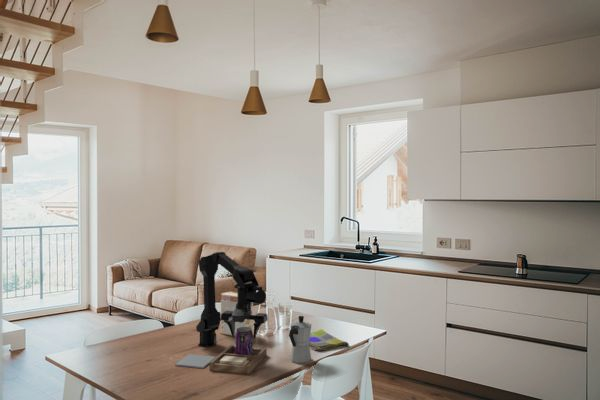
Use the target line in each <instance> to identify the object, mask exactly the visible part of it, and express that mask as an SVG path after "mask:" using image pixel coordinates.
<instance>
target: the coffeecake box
mask: <svg viewBox="0 0 600 400" xmlns="http://www.w3.org/2000/svg"><path fill="white" fill-rule="evenodd" d="M236 303H237V292H235V291H226V292H222V293H220V315H221V314H222V313H223V312H225V311H234V310H235V309H236ZM251 311H252V314H251V315H254V303H253V302H252V304H251ZM240 327H249V328H251V329H252V330H251V331H252V333H253V334H254V320H249V319H245V321H244V322H242V323H240V322H235V334H236V331H237V328H240ZM220 334H223V335H227V336H231V337H232V334H231V331H230V328H229V326H228V324H227V323H225V322H224V320H221V321H220ZM234 337H235V335H234Z"/></svg>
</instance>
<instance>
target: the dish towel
mask: <svg viewBox="0 0 600 400" xmlns="http://www.w3.org/2000/svg"><path fill="white" fill-rule="evenodd" d="M308 343H309V347H310V350H312V351H315V352H319V351H324V350H325V351H327V350H332V349H340V348H346V347H349V342H347V341H344V340H341V339H339V338H337V337H335V336H333V335H331V334H330V333H328V332H326V331H325V330H323V329H318V330H316V331H314V332H313V331H312V332H310V340H309V342H308Z"/></svg>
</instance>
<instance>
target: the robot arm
mask: <svg viewBox="0 0 600 400" xmlns="http://www.w3.org/2000/svg"><path fill="white" fill-rule="evenodd" d="M219 266H221V267H223V268H224V269H225V270H226V271H227V272H228V273H229V274H231V276H232V279H233V280H234V282H235V283H236V284H235V285H234V287H233V288H234V289H237V292H236V293H237V303H236V309H235V310H234V311H225V312H223V313H222V314H221V311H218V310H217V307H216V282H215V281H216V278H215V276H216V274H217V272H218V271H219ZM198 269H199V272H200V273H201V275H202V276H203V279H202V280H203V305H204V307H203V311H202V312H201V315H200V321H199V322H198V324H197V325H196V326H195V327H196V328H195V329H196V332H197V333H199V343H198V344H197V345H198V347H200V346H201V347H202V346H203V347H210V348H211V347H213V346H214V345H215V344H217V343H218V341H217V333H216V331H218V330H219V328H220V326H221V320H224V322H225V323H227V324H228V326H229V328H230V331H231V334H232V336H231V337H232V338H234V337H235V336H234V335H235V322H240V323H242V322H244V321H245V319H249V320H253V339H256V338H257V335H258V331H259V330H260V327H261V325H263V324H265V323H266V322H267V321H268V314H267V313H265V312H264V313H263V312H258V313H256V314H253V315H251V314H252V311H251V304H252V302H253V304H258V305H262V304H264V302H266V299H267V294H266V291H265V290H263V286H259V282H258V280H257V278H256V275H255V274H254V271H253V270H252V269H251V268H249V267H247V266H243V265H240V264H238V262H236V261H234V259H232V258H231V257H230V256H228V255H227V254H226V252H224V251H217V252H214V253H211V254H209V255H207V256H201V257H200V259H199V260H198Z"/></svg>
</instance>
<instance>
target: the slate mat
mask: <svg viewBox="0 0 600 400" xmlns="http://www.w3.org/2000/svg"><path fill="white" fill-rule="evenodd" d="M216 357H217V356H211V355H201V354H193V353H192V354H190V353H189V354H187V355H185V357H183V358H181V359H180V360H179V361H177V362H176V363H174V366H175V367H185V368H194V369H195V368H196V369H204V368H206V367H208V365H210V362H211V361H212V360H213V359H214V358H216Z"/></svg>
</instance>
